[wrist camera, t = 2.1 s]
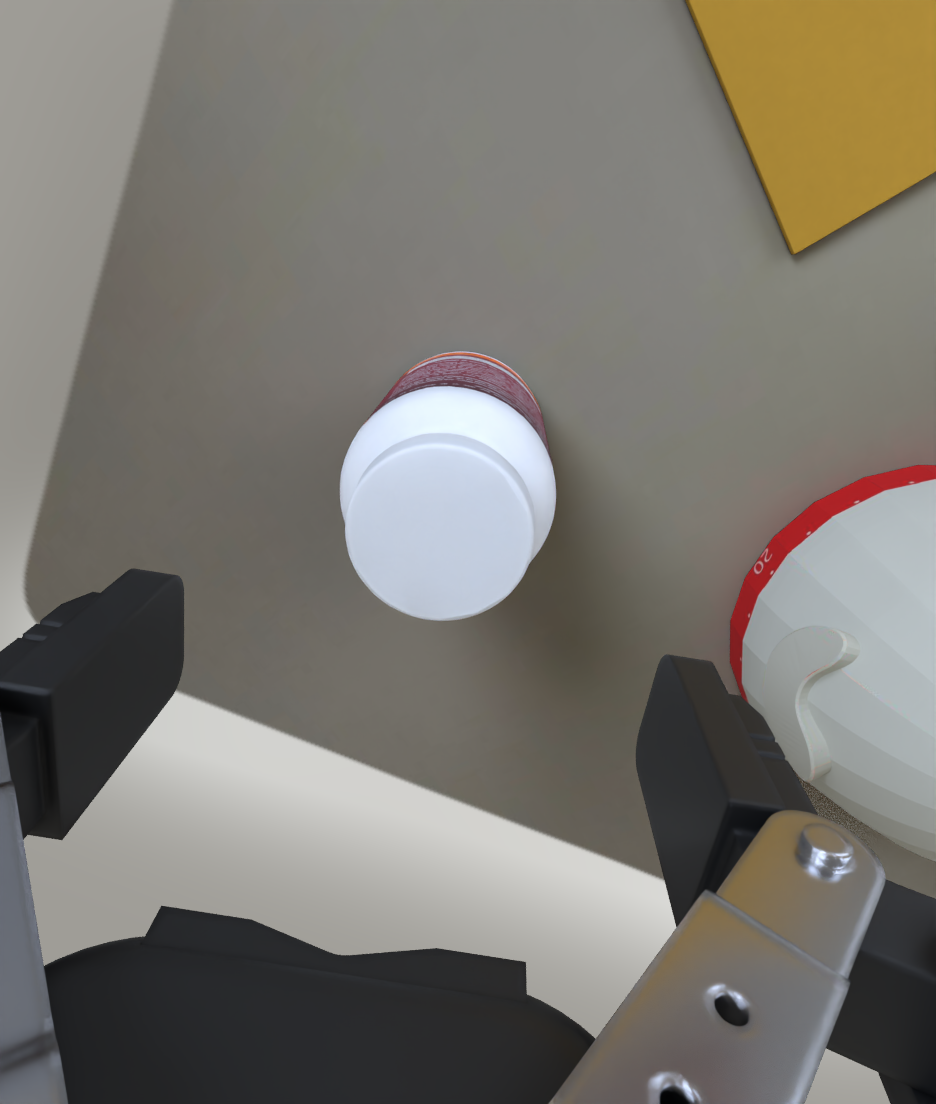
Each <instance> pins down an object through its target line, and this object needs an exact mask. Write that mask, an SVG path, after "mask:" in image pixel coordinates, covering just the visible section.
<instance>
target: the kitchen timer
mask: <svg viewBox="0 0 936 1104" xmlns="http://www.w3.org/2000/svg"><path fill="white" fill-rule="evenodd" d="M730 663H731V666H732V669H733V672H734V675H735V678H736V681H737V684H738V687H739V690H740V692H741V695H742V698H743V699H744V700H745V701H747V702H748V703H749V704H750V705H751V706H752V707H753V708H754V709H755V710H757V711H758V712H759V713H760V714H761V715H762V716H763V717H764V719H765V721H766V722H767V724H768V726H769V728H770V729H771V731H772V733H773V735H774V737H775V742H778V744H779V746H780V747H781V749H782V751H783V753H784V755H785V760H786V761H788V762H789V764H790V765H791V766H792V768H793V769H794V771H795V772H796V773H797V774H798V776H799V777H800V778H801V779H802V780H803V781H806V782H809V783H810V784H811V785H812V786H814V787H815V788H816V789H817V790H819V791H820V792H821V793H823V794H824V795H825V796H826V797H828V798H829V799H830V800H832V801H833V802H834V803H836V804H837V805H838V806H840V807H841V808H842V809H844V810H845V811H846V812H848V813H849V814H850V815H852V816H853V817H855V818H856V819H858V820H860V821H861V822H863V823H864V824H866V825H867V826H869V827H871V828H872V829H874V830H875V831H877V832H878V833H880V834H882V835H883V836H885V837H886V838H888V839H889V840H891V841H893V842H894V843H896V844H898V845H899V846H901V847H903V848H905V849H907V850H909V851H911V852H913V853H915V854H917V855H920V856H922V857H925V858H927V859H930V860H932V861H935V862H936V466H934V465H916V466H912V467H907V468H903V469H899V470H894V471H890V472H886V473H881V474H877V475H873V476H868V477H864V478H862V479H860V480H858V481H856V482H854V483H852V484H850V485H848V486H846V487H844V488H842V489H840V490H838V491H836V492H834V493H832V494H830V495H828V496H826V497H824V498H822V499H820V500H818V501H816V502H814V503H813V504H812V505H811V506H810V507H808V508H807V509H806V510H805V511H804V512H803V513H801V514H800V515H799V516H798V517H797V518H796V519H794V520H793V521H792V522H791V523H790V524H789V525H787V526H786V527H785V528H784V529H783V530H782V531H780V532H779V533H778V534H777V535H776V536H774V537H773V539H772V540H771V542H770V543H769V544H768V546H767V547H766V549H765V550H764V552H763V553H762V554H761V556H760V557H759V559H758V560H757V562H756V563H755V564H754V566H753V567H752V569H751V570H750V572H749V573H748V574H747V576H746V577H745V579H744V582H743V585H742V588H741V591H740V594H739V597H738V600H737V603H736V606H735V609H734V612H733V615H732V618H731V620H730Z"/></svg>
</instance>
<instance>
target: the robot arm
mask: <svg viewBox="0 0 936 1104" xmlns="http://www.w3.org/2000/svg"><path fill="white" fill-rule="evenodd" d="M183 661H184V586H183V582H182V579H181V578H180V577H179V576H178V575H171V574H165V573H159V572H153V571H146V570H140V569H130V570H128V571H127V572H126V573H124V574H123V575H122V576H121V577H119V578H118V579H117V580H116V581H115V582H113V583H112V584H111V585H110V586H109V587H107V588H106V589H105V590H104V591H102V592H101V593H96V592H91V593H89V594H86V595H84V596H81V597H79V598H76V599H73V600H71V601H68V602H66V603H63V604H61V605H60V606H59V607H57V608H56V609H55V610H53V611H52V612H51V613H50V614H48V615H47V616H46V617H44V618H43V619H42V620H41V621H40V624H35V625H34V626H33V627H32V628H30V629H29V630H28V631H27V632H25V633H24V634H23V637H22V638H17V639H16V640H15V641H14V642H12V643H11V644H10V645H8V646H7V647H6V648H5V649H3V650H2V651H1V652H0V1104H804V1103H805V1101H806V1098H807V1095H808V1093H809V1090H810V1087H811V1085H812V1082H813V1080H814V1077H815V1074H816V1072H817V1070H818V1067H819V1064H820V1061H821V1059H822V1057H823V1054H824V1051H825V1049H826V1048H827V1049H829V1050H831V1051H833V1052H835V1053H838V1054H840V1055H842V1056H844V1057H847V1058H849V1059H851V1060H853V1061H855V1062H857V1063H860V1064H862V1065H864V1066H866V1067H868V1068H870V1069H873V1070H875V1071H877V1072H878V1073H879V1076H880V1078H881V1081H882V1083H883V1086H884V1088H885V1091H886V1093H887V1096H888V1098H889V1101H890V1103H891V1104H936V899H934V898H932V897H929V896H926V895H924V894H921V893H919V892H916V891H913V890H911V889H908V888H905V887H903V886H900V885H898V884H896V883H893V882H891V881H888V880H886V878H885V871H884V869H883V866H882V864H881V862H880V860H879V859H878V857H877V856H876V854H875V853H874V852H873V851H872V849H871V848H870V847H869V846H868V845H867V844H866V843H865V842H864V841H862V840H861V839H860V838H859V837H858V836H856V835H855V834H854V833H852V832H851V831H849V830H848V829H846V828H845V827H843V826H841V825H840V824H838V823H836V822H834V821H832V820H830V819H827V818H825V817H822V816H820V815H818V814H817V812H816V810H815V809H814V807H813V805H812V803H811V801H810V800H809V798H808V796H807V794H806V792H805V791H804V789H803V787H802V785H801V783H800V782H799V780H798V778H797V776H796V774H795V773H794V771H793V769H792V767H791V765H790V764H789V762H788V761H786V760H785V755H784V753H783V751H782V749H781V747H780V746H779V744H778V742H775V737H774V735H773V733H772V731H771V729H770V728H769V726H768V724H767V722H766V721H765V719H764V717H763V716H762V715H761V714H760V713H759V712H758V711H757V710H755V709H754V708H753V707H752V706H751V705H750V704H749V703H748V702H747V701H745V700H744V699H743V698H742V697H741V696H738V695H732V694H728V692H727V690H726V688H725V686H724V684H723V682H722V680H721V678H720V676H719V674H718V672H717V670H716V668H715V666H714V665H713V663H712V662H710V661H705V660H699V659H693V658H686V657H680V656H674V655H667V654H666V655H664V656H663V657H662V659H661V661H660V663H659V665H658V668H657V671H656V675H655V678H654V682H653V685H652V688H651V692H650V695H649V699H648V702H647V706H646V709H645V713H644V716H643V719H642V723H641V726H640V730H639V734H638V739H637V746H636V767H637V773H638V776H639V780H640V784H641V788H642V792H643V796H644V800H645V804H646V808H647V812H648V816H649V820H650V824H651V828H652V832H653V836H654V840H655V844H656V848H657V852H658V856H659V860H660V864H661V868H662V872H663V876H664V880H665V884H666V888H667V891H668V895H669V899H670V903H671V907H672V911H673V915H674V919H675V923H676V927H677V928H676V929H675V931H674V932H673V933H672V935H671V936H670V938H669V939H668V940H667V942H666V943H665V944H664V946H663V947H662V949H661V950H660V951H659V953H658V954H657V955H656V957H655V958H654V960H653V961H652V962H651V964H650V965H649V966H648V968H647V969H646V971H645V972H644V973H643V975H642V976H641V978H640V979H639V980H638V982H637V983H636V984H635V986H634V987H633V989H632V990H631V991H630V993H629V994H628V995H627V997H626V998H625V1000H624V1001H623V1002H622V1004H621V1005H620V1006H619V1008H618V1009H617V1011H616V1012H615V1013H614V1015H613V1016H612V1017H611V1019H610V1020H609V1022H608V1023H607V1024H606V1026H605V1027H604V1028H603V1030H602V1031H601V1033H600V1034H599V1035H598V1037H597V1038H596V1039H595V1038H594V1037H593V1036H592V1035H591V1034H589V1033H588V1032H587V1031H586V1030H585V1029H584V1028H582V1027H581V1026H580V1025H579V1024H577V1023H576V1022H575V1021H573V1020H572V1019H570V1018H569V1017H567V1016H566V1015H565V1014H563V1013H562V1012H560V1011H559V1010H557V1009H555V1008H553V1007H551V1006H549V1005H548V1004H546V1003H544V1002H542V1001H541V1000H538V999H536V998H534V997H532V996H529V995H527V994H526V993H527V992H526V962H522V961H515V960H509V959H502V958H496V957H490V956H483V955H477V954H470V953H464V952H457V951H451V950H444V949H437V948H435V949H423V950H410V951H398V952H385V953H374V954H362V955H350V956H349V955H346V956H345V955H336V954H333V953H329V952H327V951H325V950H322V949H320V948H318V947H315V946H313V945H311V944H308V943H306V942H303V941H301V940H299V939H296V938H294V937H291V936H289V935H287V934H284V933H282V932H279V931H277V930H275V929H272V928H270V927H267V926H265V925H263V924H260V923H258V922H256V921H253V920H250V919H244V918H237V917H231V916H223V915H217V914H210V913H204V912H198V911H191V910H185V909H179V908H172V907H166V906H161V908H160V910H159V911H158V913H157V915H156V917H155V919H154V921H153V923H152V925H151V926H150V928H149V930H148V932H147V934H146V936H145V937H135V938H128V939H123V940H118V941H112V942H107V943H104V944H100V945H97V946H93V947H90V948H86V949H83V950H80V951H78V952H75V953H73V954H70V955H67V956H65V957H62V958H60V959H57V960H55V961H53V962H51V963H49V964H47V965H45V966H44V965H43V959H42V953H41V947H40V940H39V934H38V928H37V922H36V916H35V910H34V903H33V898H32V892H31V885H30V879H29V873H28V867H27V861H26V854H25V849H24V842H23V840H24V838H25V837H26V836H27V835H33V836H39V837H46V838H52V839H59V840H63V838H64V837H65V836H66V834H67V833H68V832H69V830H70V829H71V828H72V827H73V825H74V824H75V823H76V821H77V820H78V819H79V817H80V816H81V814H82V813H83V812H84V811H85V809H86V808H87V807H88V806H89V804H90V803H91V802H92V800H93V799H94V797H95V796H96V795H97V794H98V793H99V791H100V790H101V788H102V787H103V786H104V784H105V783H106V782H107V781H108V779H109V778H110V777H111V775H112V774H113V773H114V772H115V770H116V769H117V768H118V766H119V765H120V764H121V762H122V761H123V760H124V759H125V757H126V756H127V755H128V753H129V752H130V751H131V749H132V748H133V747H134V745H135V744H136V743H137V742H138V740H139V739H140V738H141V736H142V735H143V733H144V732H145V731H146V730H147V728H148V727H149V726H150V725H151V723H152V722H153V721H154V719H155V718H156V717H157V715H158V714H159V713H160V711H161V710H162V708H164V706H165V705H166V704H167V702H168V701H169V700H170V698H171V697H172V696H173V694H174V692H175V690H176V688H177V686H178V683H179V681H180V677H181V673H182V669H183Z"/></svg>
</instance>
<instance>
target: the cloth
mask: <svg viewBox="0 0 936 1104" xmlns="http://www.w3.org/2000/svg"><path fill="white" fill-rule="evenodd" d="M685 1H686V3H687V5H688V8H689V10H690V13H691V15H692V17H693V20H694V22H695V25H696V27H697V29H698V32H699V34H700V37H701V39H702V41H703V44H704V46H705V49H706V51H707V53H708V56H709V58H710V61H711V63H712V65H713V68H714V70H715V72H716V75H717V77H718V80H719V82H720V84H721V87H722V89H723V92H724V94H725V96H726V99H727V101H728V104H729V106H730V108H731V111H732V113H733V116H734V118H735V120H736V123H737V125H738V128H739V130H740V132H741V135H742V137H743V140H744V142H745V144H746V147H747V149H748V152H749V154H750V156H751V159H752V161H753V164H754V166H755V168H756V171H757V173H758V176H759V178H760V180H761V183H762V185H763V188H764V190H765V192H766V195H767V197H768V200H769V202H770V204H771V207H772V209H773V212H774V214H775V216H776V219H777V221H778V224H779V226H780V228H781V231H782V233H783V236H784V238H785V240H786V243H787V245H788V248H789V250H790V252H791V254H796V253H798V252H800V251H801V250H803V249H805V248H807V247H808V246H810V245H812V244H813V243H815V242H817V241H819V240H820V239H822V238H824V237H825V236H827V235H829V234H830V233H832V232H834V231H836V230H837V229H839V228H841V227H842V226H844V225H846V224H848V223H849V222H851V221H853V220H854V219H856V218H858V217H859V216H861V215H863V214H865V213H866V212H868V211H870V210H871V209H873V208H875V207H877V206H878V205H880V204H882V203H883V202H885V201H887V200H889V199H890V198H892V197H894V196H895V195H897V194H899V193H900V192H902V191H904V190H906V189H907V188H909V187H911V186H912V185H914V184H916V183H918V182H919V181H921V180H923V179H924V178H926V177H928V176H930V175H931V174H933V173H935V172H936V0H685Z"/></svg>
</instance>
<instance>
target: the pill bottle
mask: <svg viewBox="0 0 936 1104" xmlns="http://www.w3.org/2000/svg"><path fill="white" fill-rule="evenodd" d="M340 503H341V509H342V514H343V518H344V522H345V536H346V543H347V548H348V553H349V556H350V559H351V561H352V563H353V566H354V568H355V570H356V572H357V574H358V575H359V577H360V578H361V580H362V581H363V582H364V583H365V585H366V586H367V587H368V588H369V589H370V590H371V592H372V593H373V594H374V595H376V596H377V597H378V598H379V599H381V600H382V601H383V602H385V603H386V604H387V605H389V606H391V607H392V608H394V609H396V610H398V611H400V612H402V613H405V614H407V615H410V616H413V617H417V618H421V619H426V620H435V621H451V620H459V619H464V618H468V617H472V616H474V615H477V614H480V613H482V612H484V611H486V610H489V609H490V608H492V607H493V606H495V605H497V604H498V603H499V602H501V601H502V600H503V599H504V598H506V597H507V596H508V595H509V594H510V593H511V592H512V591H513V590H514V588H515V587H516V586H517V585H518V583H519V582H520V580H521V579H522V577H523V576H524V574H525V571H526V569H527V567H528V565H529V563H530V562H531V561H532V560H533V559H534V557H535V556H536V554H537V553H538V552H539V550H540V549H541V547H542V545H543V544H544V542H545V540H546V538H547V536H548V533H549V530H550V528H551V525H552V522H553V518H554V512H555V505H556V484H555V477H554V471H553V466H552V459H551V456H550V452H549V446H548V441H547V437H546V432H545V427H544V423H543V418H542V414H541V410H540V408H539V405H538V403H537V401H536V399H535V397H534V395H533V394H532V392H531V390H530V389H529V387H528V386H527V385H526V383H525V382H524V381H523V380H522V378H521V377H520V376H519V375H518V374H517V373H516V372H514V371H513V370H512V369H511V368H509V367H508V366H507V365H505V364H503V363H502V362H500V361H498V360H496V359H494V358H492V357H489V356H486V355H483V354H479V353H474V352H462V351H461V352H448V353H443V354H439V355H436V356H433V357H430V358H428V359H426V360H424V361H422V362H420V363H418V364H417V365H415V366H414V367H412V368H411V369H410V370H408V371H407V372H406V373H405V374H404V375H403V376H402V377H401V378H400V379H399V380H398V381H397V382H396V384H395V385H394V386H393V387H392V389H391V390H390V391H389V393H388V394H387V395H386V397H385V398H384V399H383V400H382V402H381V403H380V404H379V405H378V407H377V408H376V409H375V411H374V412H373V413H372V414H371V415H370V417H369V418H368V419H367V421H366V422H365V423H364V424H363V426H362V427H361V428H360V429H359V431H358V433H357V434H356V436H355V438H354V440H353V441H352V443H351V445H350V448H349V450H348V452H347V455H346V457H345V460H344V464H343V467H342V471H341V478H340Z"/></svg>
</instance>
